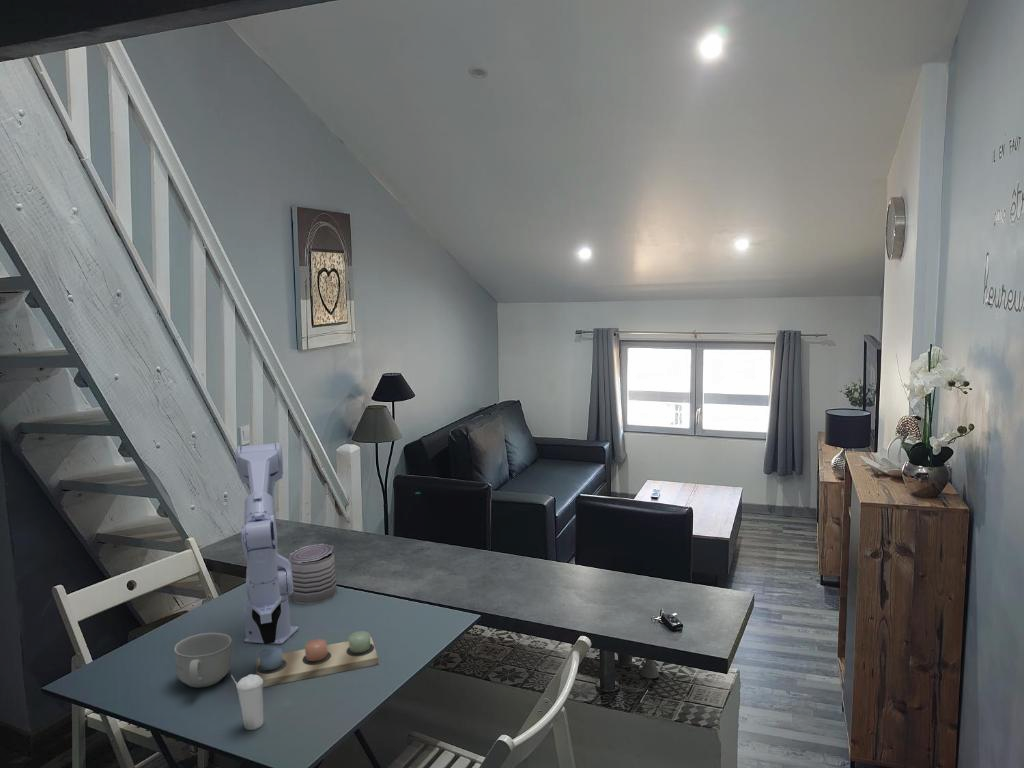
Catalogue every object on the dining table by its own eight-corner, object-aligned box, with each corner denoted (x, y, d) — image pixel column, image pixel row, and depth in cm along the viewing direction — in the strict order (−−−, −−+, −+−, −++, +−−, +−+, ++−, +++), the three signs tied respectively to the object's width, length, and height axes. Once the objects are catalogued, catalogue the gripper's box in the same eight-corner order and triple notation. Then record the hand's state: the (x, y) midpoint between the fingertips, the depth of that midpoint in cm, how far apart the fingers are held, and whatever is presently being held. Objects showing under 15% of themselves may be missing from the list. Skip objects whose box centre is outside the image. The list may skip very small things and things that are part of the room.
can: (337, 601, 187) (333, 555, 186) (290, 607, 185) (286, 561, 183) (337, 584, 198) (333, 541, 197) (293, 590, 196) (289, 546, 194)
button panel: (256, 688, 148) (256, 680, 147) (257, 664, 157) (256, 657, 157) (378, 664, 155) (377, 657, 155) (371, 643, 164) (371, 636, 164)
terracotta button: (306, 663, 153) (305, 650, 153) (305, 653, 157) (304, 641, 157) (328, 658, 154) (327, 646, 154) (326, 649, 158) (325, 637, 158)
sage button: (350, 654, 156) (349, 642, 155) (348, 645, 160) (347, 633, 159) (371, 650, 157) (371, 638, 157) (369, 641, 161) (368, 629, 161)
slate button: (260, 671, 150) (259, 659, 150) (260, 661, 154) (259, 649, 154) (283, 667, 151) (281, 655, 151) (282, 657, 156) (281, 645, 155)
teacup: (192, 666, 157) (188, 631, 156) (243, 665, 157) (239, 629, 156) (160, 703, 144) (155, 664, 143) (215, 702, 143) (211, 663, 142)
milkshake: (240, 719, 137) (234, 668, 136) (269, 716, 137) (264, 665, 136) (233, 734, 133) (227, 681, 131) (263, 731, 133) (258, 678, 132)
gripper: (243, 569, 156) (249, 630, 158) (241, 595, 142) (248, 662, 144) (278, 563, 158) (284, 624, 160) (279, 589, 145) (285, 655, 146)
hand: (269, 641), depth 152 cm, fingers closed
